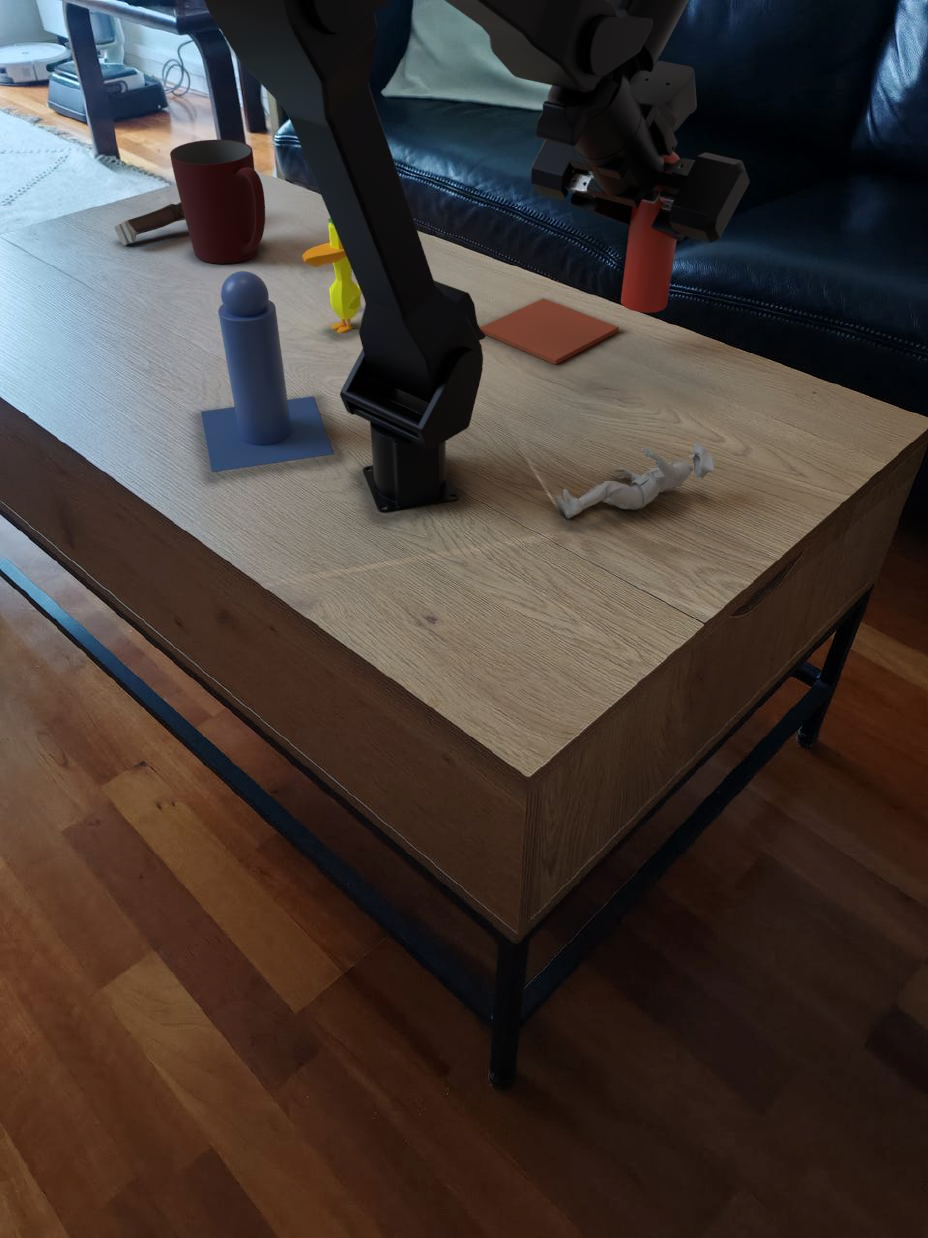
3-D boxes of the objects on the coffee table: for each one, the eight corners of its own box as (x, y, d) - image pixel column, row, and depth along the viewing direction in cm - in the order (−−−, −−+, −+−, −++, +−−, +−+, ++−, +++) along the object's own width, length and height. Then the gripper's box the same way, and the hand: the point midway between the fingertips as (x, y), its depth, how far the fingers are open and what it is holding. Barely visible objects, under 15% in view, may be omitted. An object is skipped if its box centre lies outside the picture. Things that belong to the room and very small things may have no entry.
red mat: (555, 364, 93) (555, 359, 93) (479, 332, 98) (479, 327, 98) (618, 331, 99) (619, 326, 98) (543, 302, 104) (543, 297, 103)
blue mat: (334, 458, 81) (334, 453, 80) (212, 477, 78) (211, 471, 78) (314, 400, 88) (313, 395, 87) (201, 416, 86) (200, 411, 85)
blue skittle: (295, 441, 82) (274, 281, 72) (242, 448, 81) (214, 287, 72) (287, 415, 85) (266, 258, 76) (236, 422, 84) (209, 264, 75)
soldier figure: (544, 502, 78) (668, 428, 79) (575, 554, 78) (698, 479, 79) (566, 486, 70) (702, 404, 71) (600, 544, 70) (736, 461, 72)
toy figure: (322, 347, 95) (310, 223, 87) (303, 335, 98) (289, 212, 90) (378, 329, 99) (372, 207, 91) (359, 317, 101) (350, 197, 93)
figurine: (152, 275, 113) (259, 234, 120) (143, 233, 109) (254, 193, 116) (116, 244, 116) (222, 206, 123) (106, 202, 112) (216, 164, 119)
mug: (299, 257, 112) (288, 156, 105) (239, 280, 107) (223, 176, 100) (232, 232, 118) (218, 134, 111) (172, 252, 113) (153, 152, 106)
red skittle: (674, 309, 92) (699, 154, 83) (631, 315, 91) (651, 159, 82) (655, 291, 95) (676, 140, 86) (613, 296, 94) (630, 144, 85)
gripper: (764, 48, 71) (797, 171, 84) (558, 13, 80) (618, 130, 94) (690, 187, 72) (735, 287, 85) (495, 137, 81) (563, 235, 94)
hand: (661, 229), depth 90 cm, fingers closed on red skittle, 4 cm apart
